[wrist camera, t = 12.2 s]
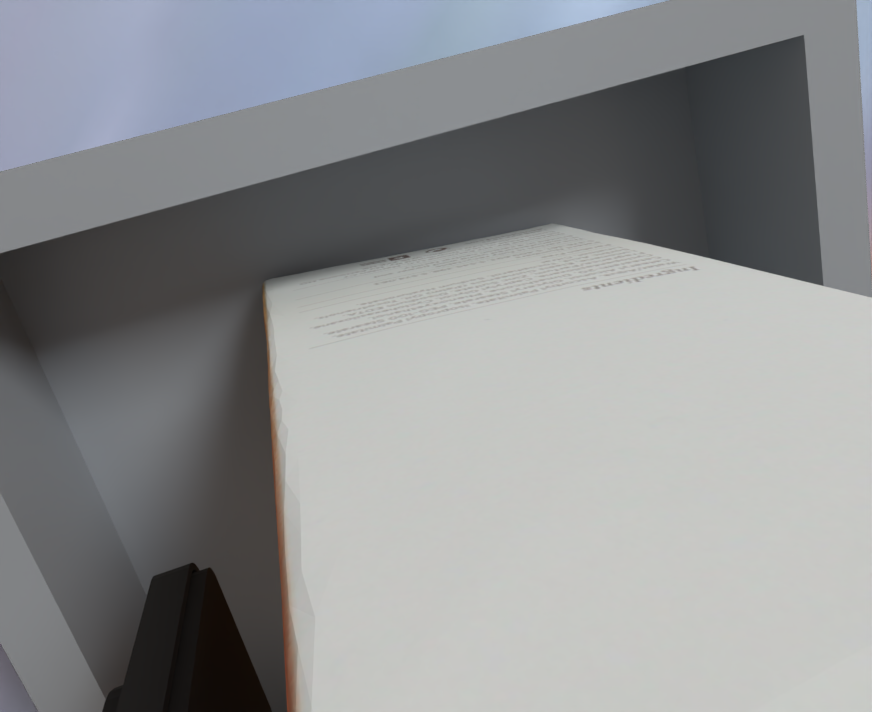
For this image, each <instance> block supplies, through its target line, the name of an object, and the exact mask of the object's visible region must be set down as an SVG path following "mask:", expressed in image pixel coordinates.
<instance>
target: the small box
mask: <svg viewBox="0 0 872 712" xmlns="http://www.w3.org/2000/svg"><path fill="white" fill-rule="evenodd" d="M262 297H263V312H264V324H265V332H266V340H267V361H268V389H269V408H270V420H271V439H272V457H273V474H274V489H275V504H276V519H277V534H278V549H279V564H280V579H281V597H282V618H283V638H284V658H285V678H286V698H287V712H872V298H871V297H867V296H863V295H859V294H854V293H850V292H846V291H842V290H838V289H834V288H830V287H825V286H821V285H817V284H813V283H809V282H805V281H801V280H796V279H792V278H788V277H784V276H780V275H776V274H772V273H768V272H764V271H759V270H755V269H751V268H747V267H743V266H739V265H735V264H731V263H727V262H723V261H718V260H714V259H710V258H706V257H702V256H698V255H693V254H689V253H685V252H681V251H676V250H672V249H668V248H664V247H659V246H655V245H651V244H647V243H642V242H637V241H632V240H627V239H623V238H618V237H613V236H608V235H603V234H598V233H593V232H589V231H586V230H581V229H577V228H572V227H568V226H564V225H558V224H553V223H552V224H548V225H543V226H538V227H534V228H529V229H525V230H518V231H514V232H509V233H505V234H500V235H495V236H490V237H484V238H478V239H473V240H469V241H464V242H459V243H454V244H449V245H444V246H439V247H434V248H429V249H423V250H418V251H413V252H408V253H403V254H397V255H392V256H387V257H382V258H377V259H372V260H366V261H361V262H356V263H350V264H345V265H339V266H334V267H329V268H324V269H319V270H314V271H309V272H304V273H299V274H294V275H288V276H283V277H278V278H272V279H269V280H266V281H265V282H264V283H263V285H262Z"/></svg>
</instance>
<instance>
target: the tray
mask: <svg viewBox="0 0 872 712" xmlns="http://www.w3.org/2000/svg"><path fill="white" fill-rule="evenodd" d="M552 223H553V224H558V225H564V226H568V227H572V228H577V229H581V230H586V231H589V232H593V233H598V234H603V235H608V236H613V237H618V238H623V239H627V240H632V241H637V242H642V243H647V244H651V245H655V246H659V247H664V248H668V249H672V250H676V251H681V252H685V253H689V254H693V255H698V256H702V257H706V258H710V259H714V260H718V261H723V262H727V263H731V264H735V265H739V266H743V267H747V268H751V269H755V270H759V271H764V272H768V273H772V274H776V275H780V276H784V277H788V278H792V279H796V280H801V281H805V282H809V283H813V284H817V285H821V286H825V287H830V288H834V289H838V290H842V291H846V292H850V293H854V294H859V295H863V296H867V297H871V298H872V278H871V260H870V242H869V224H868V206H867V188H866V170H865V152H864V134H863V116H862V98H861V80H860V62H859V44H858V26H857V8H856V0H669V1H665V2H661V3H658V4H654V5H650V6H646V7H642V8H638V9H634V10H630V11H626V12H622V13H618V14H615V15H611V16H607V17H603V18H599V19H595V20H591V21H587V22H583V23H579V24H575V25H572V26H568V27H564V28H560V29H556V30H552V31H548V32H544V33H540V34H536V35H533V36H529V37H525V38H521V39H517V40H513V41H509V42H505V43H501V44H497V45H493V46H490V47H486V48H482V49H478V50H474V51H470V52H466V53H462V54H458V55H454V56H450V57H447V58H443V59H439V60H435V61H431V62H427V63H423V64H419V65H415V66H411V67H407V68H404V69H400V70H396V71H392V72H388V73H384V74H380V75H376V76H372V77H368V78H365V79H361V80H357V81H353V82H349V83H345V84H341V85H337V86H333V87H329V88H325V89H322V90H318V91H314V92H310V93H306V94H302V95H298V96H294V97H290V98H286V99H282V100H279V101H275V102H271V103H267V104H263V105H259V106H255V107H251V108H247V109H243V110H240V111H236V112H232V113H228V114H224V115H220V116H216V117H212V118H208V119H204V120H200V121H197V122H193V123H189V124H185V125H181V126H177V127H173V128H169V129H165V130H161V131H157V132H154V133H150V134H146V135H142V136H138V137H134V138H130V139H126V140H122V141H118V142H115V143H111V144H107V145H103V146H99V147H95V148H91V149H87V150H83V151H79V152H75V153H72V154H68V155H64V156H60V157H56V158H52V159H48V160H44V161H40V162H36V163H32V164H29V165H25V166H21V167H17V168H13V169H9V170H5V171H1V172H0V643H1V645H2V647H3V649H4V651H5V652H6V654H7V656H8V658H9V660H10V661H11V663H12V665H13V667H14V669H15V671H16V672H17V674H18V676H19V678H20V680H21V681H22V683H23V685H24V687H25V689H26V690H27V692H28V694H29V696H30V698H31V699H32V701H33V703H34V705H35V707H36V709H37V710H38V712H102V710H103V707H104V703H105V700H106V698H107V696H108V694H109V692H110V691H111V690H113V689H114V688H116V687H119V686H121V685H123V683H124V680H125V676H126V672H127V668H128V665H129V661H130V657H131V654H132V650H133V646H134V642H135V639H136V635H137V631H138V627H139V624H140V620H141V616H142V613H143V609H144V605H145V601H146V598H147V594H148V590H149V586H150V583H151V580H152V577H153V576H155V575H158V574H161V573H164V572H166V571H169V570H172V569H175V568H178V567H181V566H184V565H187V564H190V563H194V564H196V566H197V567H198V568H199V570H203V569H206V568H209V567H210V568H211V569H212V570H213V571H214V573H215V575H216V578H217V580H218V582H219V585H220V587H221V590H222V592H223V594H224V597H225V599H226V602H227V604H228V606H229V609H230V611H231V614H232V616H233V618H234V621H235V623H236V626H237V628H238V630H239V633H240V635H241V638H242V640H243V642H244V645H245V647H246V650H247V652H248V654H249V657H250V659H251V662H252V664H253V666H254V669H255V671H256V674H257V676H258V678H259V681H260V683H261V686H262V688H263V690H264V693H265V695H266V698H267V700H268V702H269V705H270V707H271V710H272V712H287V698H286V678H285V658H284V638H283V618H282V597H281V579H280V564H279V549H278V534H277V519H276V504H275V489H274V474H273V457H272V439H271V420H270V408H269V389H268V361H267V340H266V332H265V324H264V312H263V297H262V285H263V283H264V282H265V281H266V280H269V279H272V278H278V277H283V276H288V275H294V274H299V273H304V272H309V271H314V270H319V269H324V268H329V267H334V266H339V265H345V264H350V263H356V262H361V261H366V260H372V259H377V258H382V257H387V256H392V255H397V254H403V253H408V252H413V251H418V250H423V249H429V248H434V247H439V246H444V245H449V244H454V243H459V242H464V241H469V240H473V239H478V238H484V237H490V236H495V235H500V234H505V233H509V232H514V231H518V230H525V229H529V228H534V227H538V226H543V225H548V224H552Z"/></svg>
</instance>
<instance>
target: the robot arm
mask: <svg viewBox="0 0 872 712" xmlns="http://www.w3.org/2000/svg"><path fill="white" fill-rule="evenodd" d="M102 712H272V710H271V707H270V705H269V702H268V700H267V698H266V695H265V693H264V690H263V688H262V686H261V683H260V681H259V678H258V676H257V674H256V671H255V669H254V666H253V664H252V662H251V659H250V657H249V654H248V652H247V650H246V647H245V645H244V642H243V640H242V638H241V635H240V633H239V630H238V628H237V626H236V623H235V621H234V618H233V616H232V614H231V611H230V609H229V606H228V604H227V602H226V599H225V597H224V594H223V592H222V590H221V587H220V585H219V582H218V580H217V578H216V575H215V573H214V571H213V570H212V569H211V568H210V567H209V568H206V569H203V570H199V568H198V567H197V566H196V564H194V563H190V564H187V565H184V566H181V567H178V568H175V569H172V570H169V571H166V572H164V573H161V574H158V575H155V576H153V577H152V580H151V583H150V586H149V590H148V594H147V598H146V601H145V605H144V609H143V613H142V616H141V620H140V624H139V627H138V631H137V635H136V639H135V642H134V646H133V650H132V654H131V657H130V661H129V665H128V668H127V672H126V676H125V680H124V683H123V685H121V686H119V687H116V688H114V689H113V690H111V691H110V692H109V694H108V696H107V698H106V700H105V703H104V707H103V710H102Z"/></svg>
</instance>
